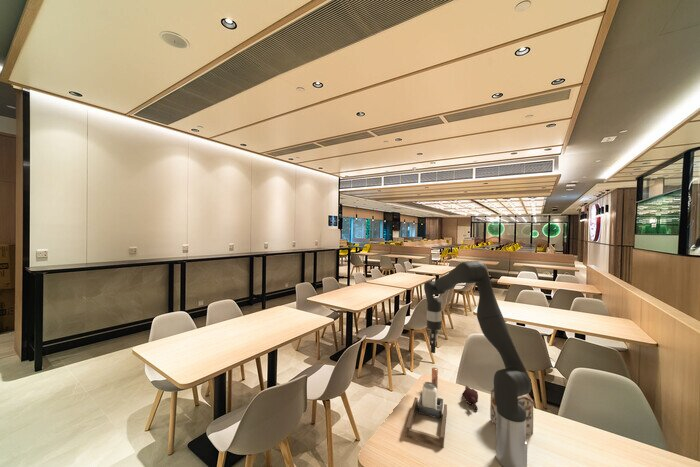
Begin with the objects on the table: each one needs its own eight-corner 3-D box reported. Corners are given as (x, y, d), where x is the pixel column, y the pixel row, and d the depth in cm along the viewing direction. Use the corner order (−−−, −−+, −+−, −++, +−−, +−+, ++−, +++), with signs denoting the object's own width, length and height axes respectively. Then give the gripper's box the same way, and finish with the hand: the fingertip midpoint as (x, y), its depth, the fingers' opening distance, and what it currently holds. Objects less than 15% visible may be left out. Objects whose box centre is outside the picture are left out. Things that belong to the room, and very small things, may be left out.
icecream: (457, 380, 142) (465, 400, 127) (471, 378, 141) (481, 398, 126) (460, 393, 143) (468, 414, 128) (474, 391, 141) (485, 412, 127)
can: (438, 416, 124) (438, 389, 124) (423, 415, 124) (423, 388, 124) (434, 407, 130) (435, 381, 130) (420, 406, 131) (421, 381, 131)
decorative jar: (511, 415, 125) (511, 376, 125) (534, 434, 113) (534, 390, 113) (489, 419, 122) (489, 379, 122) (510, 438, 110) (510, 394, 110)
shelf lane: (446, 413, 126) (446, 404, 126) (443, 447, 105) (443, 437, 105) (414, 405, 131) (415, 397, 131) (405, 436, 111) (406, 426, 111)
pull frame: (445, 388, 145) (445, 369, 145) (441, 418, 121) (441, 396, 121) (424, 384, 149) (425, 365, 149) (417, 412, 125) (417, 390, 125)
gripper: (440, 323, 137) (440, 356, 137) (442, 316, 151) (442, 345, 150) (424, 321, 140) (424, 353, 140) (428, 314, 154) (428, 343, 153)
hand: (433, 349), depth 145 cm, fingers open, 8 cm apart
